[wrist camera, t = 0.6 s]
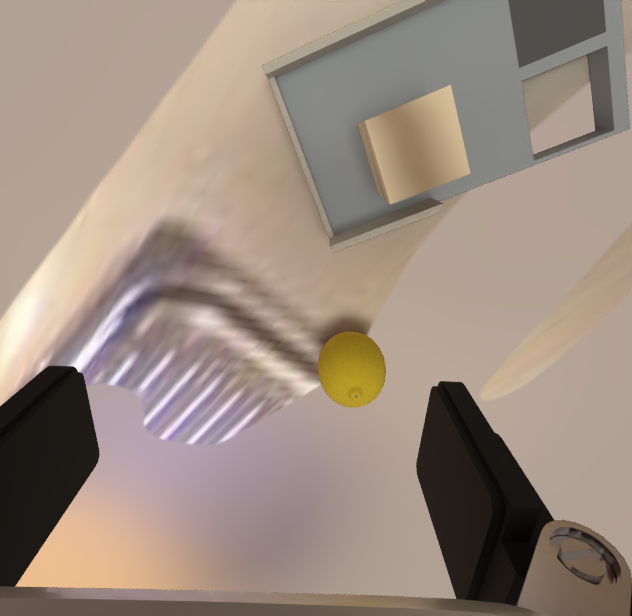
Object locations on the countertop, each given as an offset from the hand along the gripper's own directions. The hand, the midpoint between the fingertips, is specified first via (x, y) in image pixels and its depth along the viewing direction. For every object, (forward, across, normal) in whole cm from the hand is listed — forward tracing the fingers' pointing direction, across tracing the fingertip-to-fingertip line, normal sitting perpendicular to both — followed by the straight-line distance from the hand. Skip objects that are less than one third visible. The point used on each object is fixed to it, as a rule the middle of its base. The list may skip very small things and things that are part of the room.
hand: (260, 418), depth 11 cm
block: (+21, -7, -7) cm, 23 cm away
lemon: (+23, -5, +10) cm, 26 cm away
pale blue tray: (+23, -10, -10) cm, 27 cm away
